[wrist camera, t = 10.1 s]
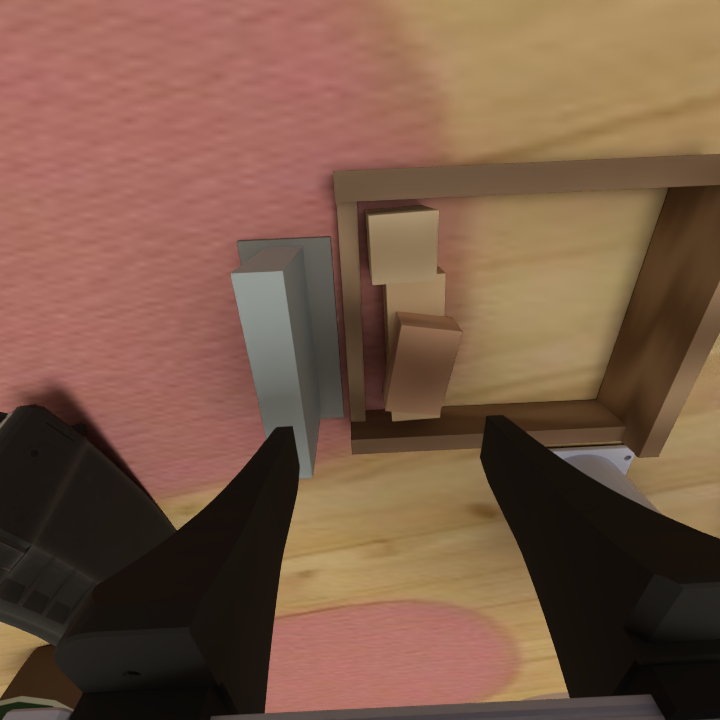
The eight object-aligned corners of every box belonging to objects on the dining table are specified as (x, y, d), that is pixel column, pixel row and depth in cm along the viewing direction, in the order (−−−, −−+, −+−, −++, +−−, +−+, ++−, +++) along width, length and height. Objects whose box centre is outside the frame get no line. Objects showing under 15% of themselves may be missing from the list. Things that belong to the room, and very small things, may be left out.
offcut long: (430, 391, 24) (440, 417, 21) (387, 394, 24) (392, 421, 21) (432, 261, 20) (445, 273, 17) (381, 265, 20) (386, 278, 17)
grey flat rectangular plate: (344, 414, 24) (343, 417, 24) (273, 417, 24) (272, 421, 24) (330, 236, 18) (330, 237, 18) (238, 240, 18) (236, 241, 18)
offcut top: (431, 395, 20) (439, 415, 18) (382, 390, 20) (385, 410, 18) (451, 317, 18) (463, 331, 16) (396, 311, 18) (401, 325, 16)
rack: (608, 412, 25) (658, 456, 21) (351, 424, 24) (352, 472, 20) (703, 156, 17) (810, 148, 13) (335, 173, 17) (331, 170, 13)
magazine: (222, 749, 29) (-340, 879, 9) (187, 753, 30) (-442, 888, 9) (250, 538, 42) (48, 380, 21) (225, 542, 42) (0, 390, 21)
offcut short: (420, 262, 19) (436, 280, 16) (368, 266, 19) (372, 285, 16) (421, 204, 18) (438, 209, 14) (364, 209, 18) (368, 215, 14)
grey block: (321, 411, 23) (312, 478, 18) (292, 412, 23) (275, 480, 18) (302, 245, 18) (282, 271, 13) (265, 247, 18) (230, 273, 13)
